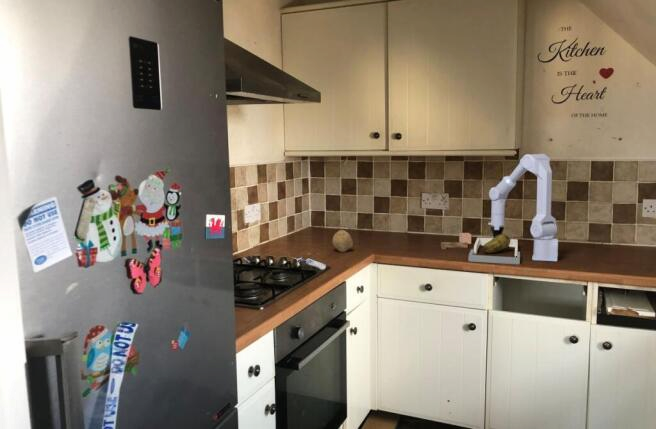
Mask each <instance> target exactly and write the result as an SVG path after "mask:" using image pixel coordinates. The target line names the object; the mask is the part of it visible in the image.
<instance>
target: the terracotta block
mask: <svg viewBox="0 0 656 429" xmlns="http://www.w3.org/2000/svg"><path fill="white" fill-rule="evenodd" d="M458 239H459V240H458V241H459V242H467V243H468V245H471V244H472V234H471V233H470V232H459V238H458Z"/></svg>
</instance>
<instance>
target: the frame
mask: <svg viewBox="0 0 656 429" xmlns="http://www.w3.org/2000/svg"><path fill="white" fill-rule="evenodd" d="M468 262H474V263H488V264H489V263H491V264H507V265H520V262H521V252H520V251H517V257H516V256H514V257H512V256H499V255H497V256H496V255H495V256H494V255H479V254H474V248H471V249H470V250H469V253H468Z"/></svg>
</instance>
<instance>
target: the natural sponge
mask: <svg viewBox="0 0 656 429" xmlns="http://www.w3.org/2000/svg"><path fill="white" fill-rule="evenodd" d="M331 242H332V245H333V247H335V249H336V250H337V251H339V252H341V253H346V251H348V250H349V249H351V248H353V245H354V241H353V239H352V237H351V234H350V233H349V232H347V231H346V230H343V229H340V230H337V232H335V233H334V235H333V237H332V241H331Z"/></svg>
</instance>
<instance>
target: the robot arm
mask: <svg viewBox="0 0 656 429" xmlns="http://www.w3.org/2000/svg"><path fill="white" fill-rule="evenodd" d="M528 171H529V172H531V173H532V174H533V175H535V176H536V178H537V181H536V183H537V184H536V215H534V217H533V218H532V220H531V221H532V222H531V225H530V228H529V229H530V234H531V236H532V238H533V255H532V256H531V257H532V258H531V259H532V261H543V262H558V257H559V252H558V250H559V239H558V238H554V237H555V235H557V232H558V227H557V226H558V225H557V224H556V218H555V217H554V216H552V185H553V184H552V181H553V179H552V178H553V171H552V167H551V158H550V157H549V156H547V155H546V154H545V153H538V154H537V153H534V154H533V153H532V154H528V153H527V154H525V155H523V156H522V157H521V159H520V160H519V163H518V165H517V166H516V167H515V169H514V170H513V171H512V172H511V173H510V175H505V176H503V178H502V180H501V181H499V183H498V184H497V185H496V186H494V187H491V188H490V189H489V192H488V196H489V199H490V200H491V209H490V210H491V211H490V212H491V215H490V222H488V225H489V226H491V227H490V231H491V232H492V236H493V237H492V238H494V237H496V236H498V235H500V234H503V232H504V230H505V229H504V228H505V211H506V210H505V209H506V208H505V207H506V206H505V205H506V202H507V198H508V196H509V193H510V192H511V191H512V189H514V188H515V187H516V185H517V181H518V180H519V179H520V178H521V177H522V176H523V175H524V174H525V173H526V172H528Z"/></svg>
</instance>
